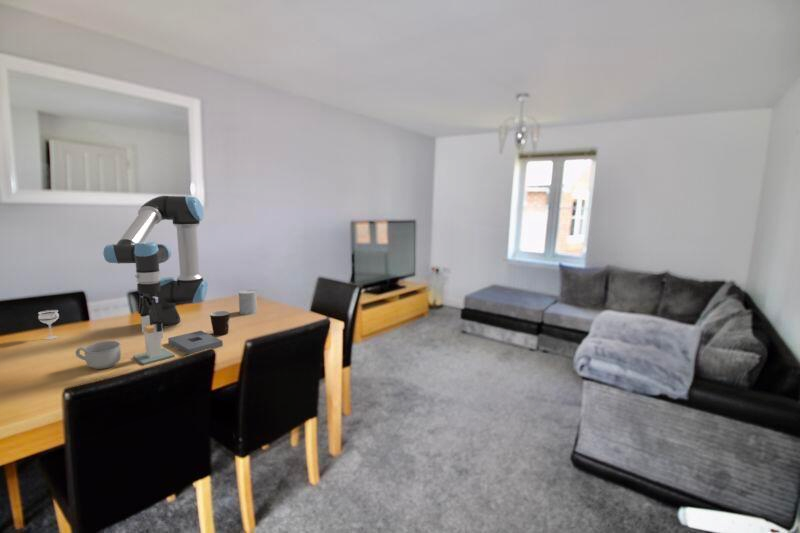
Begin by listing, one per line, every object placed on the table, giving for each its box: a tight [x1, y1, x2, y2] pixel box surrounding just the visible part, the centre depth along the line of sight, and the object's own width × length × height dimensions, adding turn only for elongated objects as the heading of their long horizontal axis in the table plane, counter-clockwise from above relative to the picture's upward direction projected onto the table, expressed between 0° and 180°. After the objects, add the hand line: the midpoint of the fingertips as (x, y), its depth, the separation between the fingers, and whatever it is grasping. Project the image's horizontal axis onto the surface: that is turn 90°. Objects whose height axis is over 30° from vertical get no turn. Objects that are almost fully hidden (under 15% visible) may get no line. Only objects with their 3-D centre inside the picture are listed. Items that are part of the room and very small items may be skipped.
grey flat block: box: [167, 330, 224, 356], centre depth 166 cm, size 20×14×2 cm
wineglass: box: [37, 309, 60, 340], centre depth 168 cm, size 7×7×12 cm
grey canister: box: [238, 289, 258, 316], centre depth 217 cm, size 10×10×12 cm
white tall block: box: [144, 325, 162, 358], centre depth 151 cm, size 4×4×12 cm
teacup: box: [75, 340, 122, 370], centre depth 142 cm, size 14×11×8 cm
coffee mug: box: [209, 310, 231, 337], centre depth 182 cm, size 12×9×10 cm
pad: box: [132, 347, 176, 366], centre depth 151 cm, size 11×11×1 cm
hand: (152, 335), depth 150 cm, fingers open, 12 cm apart
